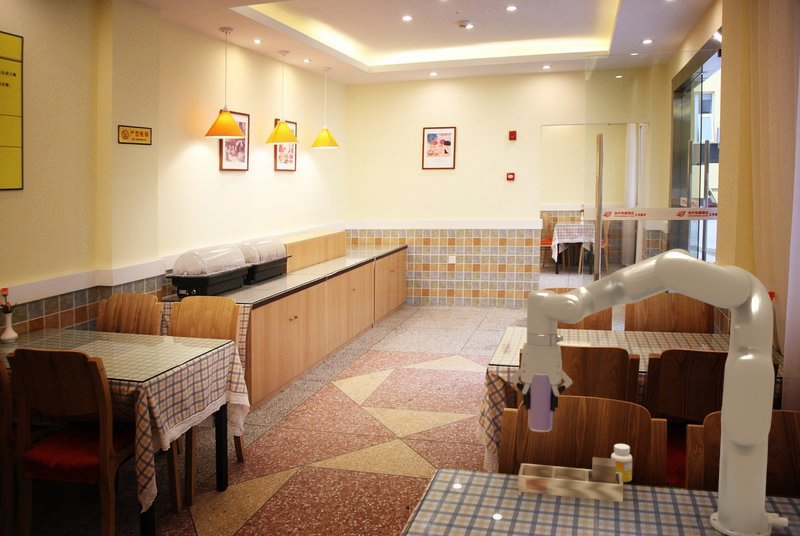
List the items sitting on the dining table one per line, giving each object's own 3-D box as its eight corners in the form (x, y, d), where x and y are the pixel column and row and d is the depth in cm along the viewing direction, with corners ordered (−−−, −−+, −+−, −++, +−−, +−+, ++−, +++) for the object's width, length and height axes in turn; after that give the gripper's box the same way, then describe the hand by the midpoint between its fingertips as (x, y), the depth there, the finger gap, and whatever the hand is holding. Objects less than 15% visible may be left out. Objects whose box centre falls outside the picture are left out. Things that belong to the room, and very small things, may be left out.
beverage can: (552, 433, 176) (553, 374, 175) (528, 431, 178) (529, 373, 176) (551, 425, 182) (553, 368, 181) (528, 424, 183) (529, 367, 182)
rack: (620, 491, 182) (621, 472, 181) (622, 506, 173) (623, 486, 172) (521, 481, 188) (521, 463, 188) (517, 495, 179) (518, 476, 179)
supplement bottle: (606, 479, 189) (606, 444, 188) (621, 476, 191) (622, 441, 190) (620, 487, 184) (621, 450, 183) (636, 483, 187) (637, 447, 186)
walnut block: (614, 489, 180) (615, 459, 180) (615, 498, 175) (616, 466, 174) (591, 487, 182) (592, 457, 181) (592, 495, 176) (592, 464, 176)
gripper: (577, 338, 179) (575, 407, 181) (508, 335, 183) (507, 403, 185) (577, 344, 172) (575, 416, 174) (505, 340, 176) (504, 411, 178)
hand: (540, 408), depth 179 cm, fingers closed on beverage can, 5 cm apart
